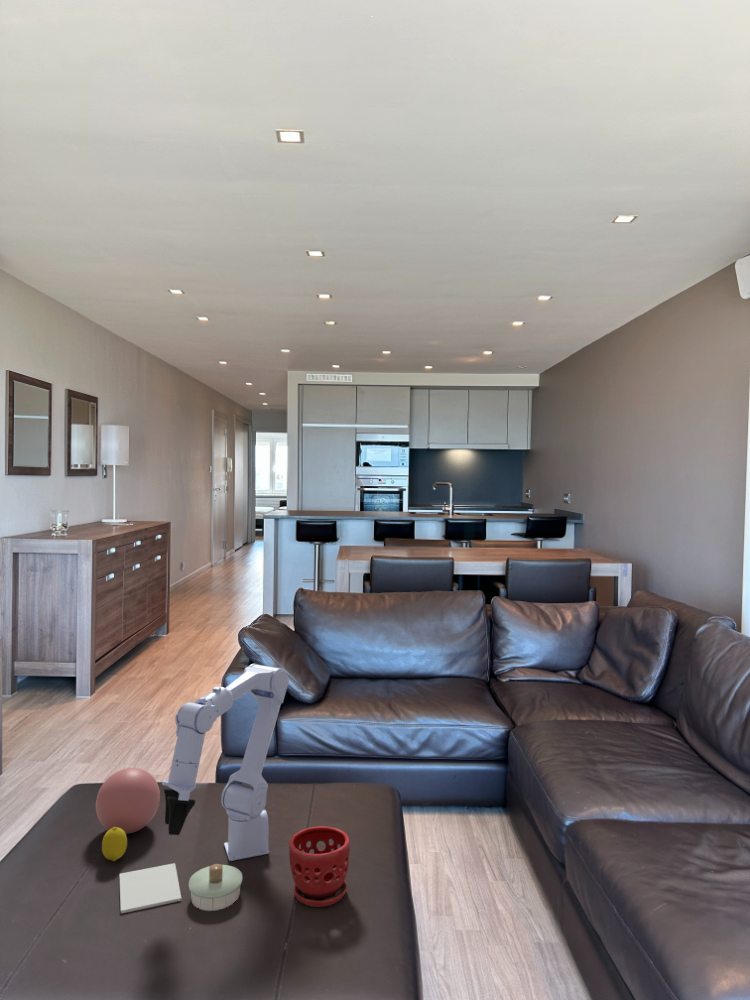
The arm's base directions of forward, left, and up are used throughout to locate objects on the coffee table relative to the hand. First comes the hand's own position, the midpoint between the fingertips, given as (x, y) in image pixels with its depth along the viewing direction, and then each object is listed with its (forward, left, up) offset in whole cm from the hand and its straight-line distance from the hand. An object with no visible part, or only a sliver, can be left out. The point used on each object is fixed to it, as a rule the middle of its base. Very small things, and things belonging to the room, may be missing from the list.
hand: (171, 829), depth 138 cm
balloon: (+7, -37, -16) cm, 41 cm away
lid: (-9, +1, -13) cm, 16 cm away
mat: (+4, -7, -16) cm, 18 cm away
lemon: (+11, -21, -16) cm, 29 cm away
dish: (-9, +1, -16) cm, 18 cm away
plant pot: (-30, +8, -16) cm, 35 cm away
